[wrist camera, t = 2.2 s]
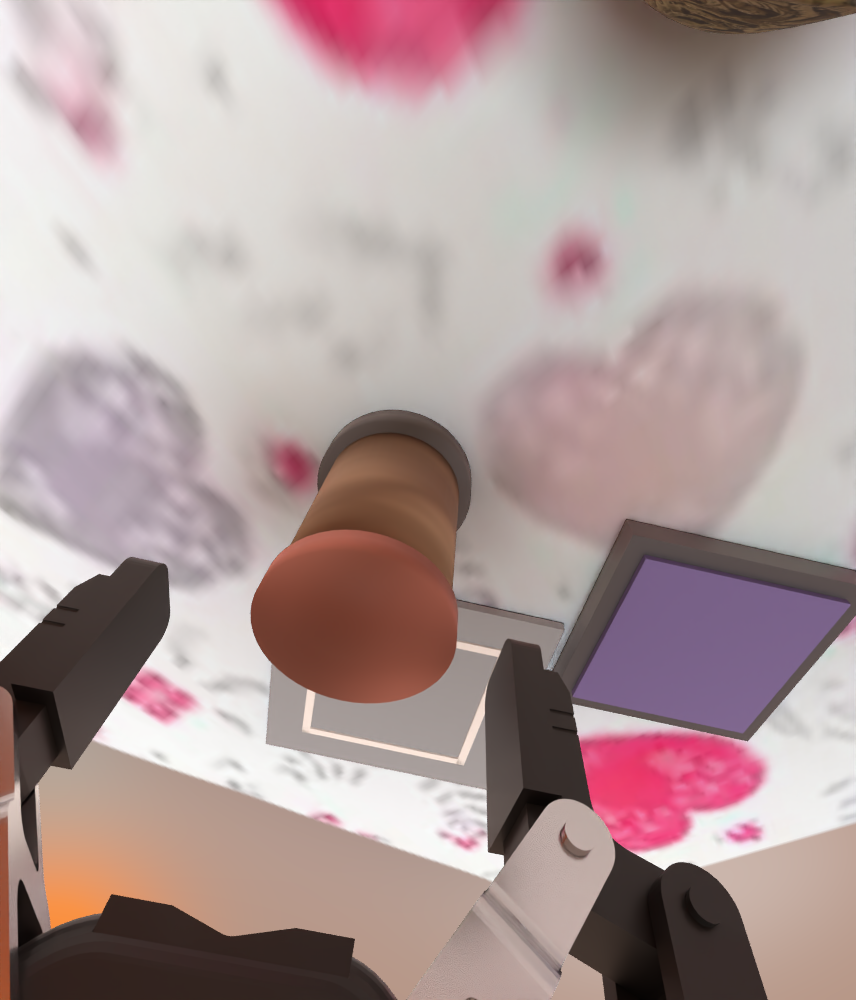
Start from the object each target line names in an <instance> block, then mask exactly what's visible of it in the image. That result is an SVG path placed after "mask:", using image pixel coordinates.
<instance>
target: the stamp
mask: <svg viewBox="0 0 856 1000" xmlns="http://www.w3.org/2000/svg"><path fill="white" fill-rule="evenodd" d="M470 496H471V472H470V467H469V463H468V460H467V457H466V455H465V452H464V451H463V449H462V447H461V446H460V444H459V443H458V441H457V440H456V439H455V438H454V437H453V436H452V435H451V434H450V433H449V432H448V431H447V430H446V429H445V428H444V427H442V426H441V425H440V424H438V423H436V422H435V421H433V420H431V419H429V418H427V417H425V416H422V415H420V414H416V413H413V412H408V411H402V410H384V411H377V412H372V413H369V414H366V415H363V416H361V417H359V418H357V419H355V420H353V421H352V422H350V423H349V424H348V425H346V426H345V427H344V428H343V429H342V430H341V431H340V432H339V433H338V434H337V436H336V437H335V438H334V440H333V442H332V443H331V445H330V447H329V448H328V450H327V452H326V454H325V456H324V457H323V459H322V462H321V465H320V468H319V473H318V494H317V496H316V498H315V500H314V502H313V503H312V505H311V507H310V509H309V511H308V513H307V515H306V517H305V519H304V520H303V522H302V524H301V526H300V528H299V530H298V532H297V534H296V536H295V537H294V539H293V541H292V543H291V545H290V546H288V547H287V548H285V549H284V550H283V551H282V552H281V553H280V554H279V555H278V556H277V557H276V558H275V560H274V561H273V562H272V563H271V565H270V567H269V569H268V571H267V572H266V574H265V576H264V578H263V580H262V581H261V583H260V585H259V587H258V589H257V591H256V592H255V595H254V598H253V601H252V605H251V625H252V629H253V633H254V636H255V638H256V641H257V643H258V645H259V646H260V648H261V650H262V652H263V653H264V654H265V656H266V657H267V658H268V659H269V661H270V662H271V663H272V664H273V665H274V666H275V667H276V668H277V669H278V670H279V671H281V672H282V673H283V674H284V675H285V676H287V677H288V678H290V679H291V680H293V681H294V682H295V683H297V684H299V685H301V686H303V687H304V688H306V689H308V690H311V691H313V692H315V693H317V694H320V695H323V696H326V697H329V698H333V699H337V700H341V701H347V702H353V703H365V704H367V703H386V702H393V701H398V700H402V699H405V698H408V697H411V696H414V695H416V694H418V693H421V692H422V691H424V690H426V689H427V688H429V687H431V686H432V685H433V684H434V683H436V682H437V681H438V680H439V679H440V678H441V677H442V676H443V675H444V674H445V672H446V671H447V669H448V668H449V666H450V665H451V662H452V660H453V658H454V655H455V651H456V646H457V628H458V607H457V602H456V598H455V595H454V592H453V590H452V586H453V572H454V559H455V545H456V531H457V530H458V529H459V528H460V526H461V525H462V523H463V521H464V519H465V518H466V515H467V512H468V509H469V505H470Z"/></svg>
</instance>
